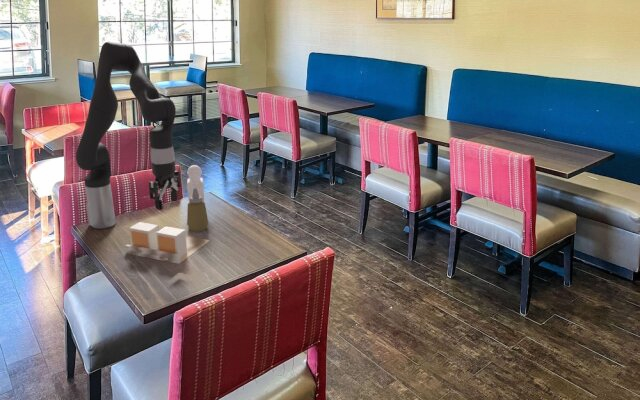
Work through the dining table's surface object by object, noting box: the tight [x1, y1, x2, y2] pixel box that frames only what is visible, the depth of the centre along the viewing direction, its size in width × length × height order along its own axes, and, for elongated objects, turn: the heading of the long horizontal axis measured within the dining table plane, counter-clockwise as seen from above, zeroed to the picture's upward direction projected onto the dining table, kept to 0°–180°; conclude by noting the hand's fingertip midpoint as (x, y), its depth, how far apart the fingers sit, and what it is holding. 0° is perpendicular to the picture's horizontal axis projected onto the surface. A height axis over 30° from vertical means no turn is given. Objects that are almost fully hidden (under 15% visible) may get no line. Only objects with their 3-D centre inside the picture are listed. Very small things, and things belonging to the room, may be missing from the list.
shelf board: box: [124, 235, 211, 264], centre depth 197 cm, size 22×20×4 cm
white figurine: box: [186, 164, 205, 203], centre depth 225 cm, size 6×6×22 cm
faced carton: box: [128, 221, 160, 250], centre depth 194 cm, size 6×8×9 cm
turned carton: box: [156, 226, 187, 258], centre depth 190 cm, size 6×8×9 cm
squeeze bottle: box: [186, 188, 209, 232], centre depth 211 cm, size 8×8×18 cm
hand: (167, 205), depth 186 cm, fingers open, 8 cm apart
